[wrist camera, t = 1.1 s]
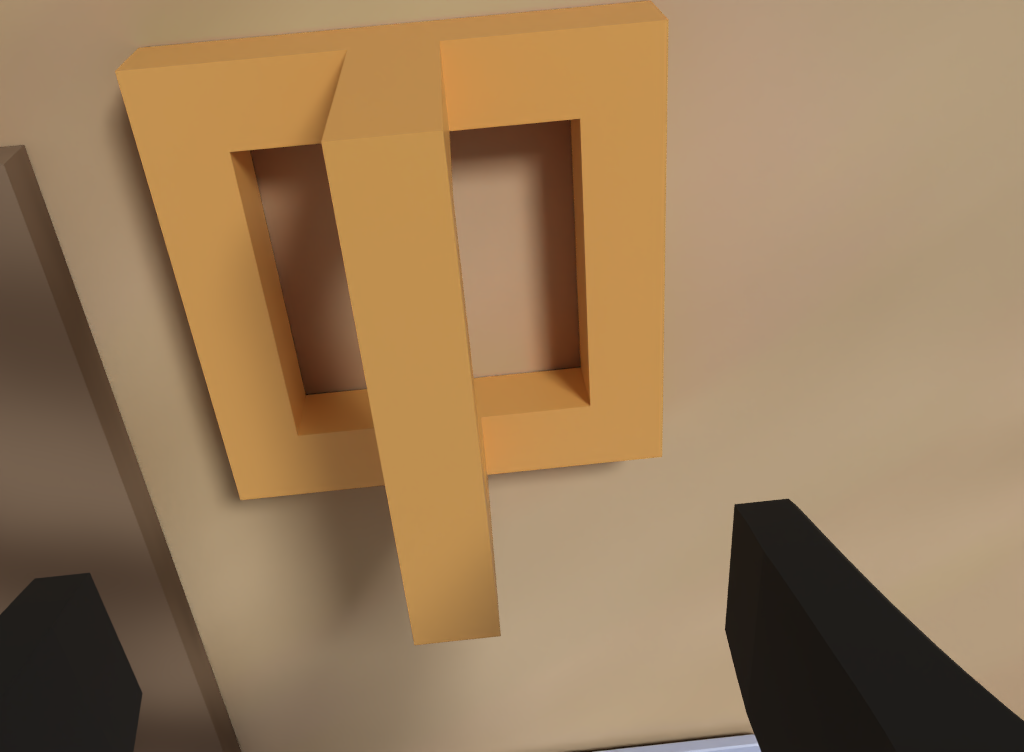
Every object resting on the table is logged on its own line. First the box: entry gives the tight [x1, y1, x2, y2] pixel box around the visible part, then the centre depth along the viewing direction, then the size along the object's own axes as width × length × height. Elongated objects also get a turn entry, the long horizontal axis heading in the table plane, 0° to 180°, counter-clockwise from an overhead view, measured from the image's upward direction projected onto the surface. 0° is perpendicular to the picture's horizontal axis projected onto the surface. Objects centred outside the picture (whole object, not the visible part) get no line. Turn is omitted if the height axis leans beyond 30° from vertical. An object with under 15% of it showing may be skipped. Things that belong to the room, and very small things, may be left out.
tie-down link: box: [115, 1, 668, 645], centre depth 17 cm, size 9×9×6 cm
